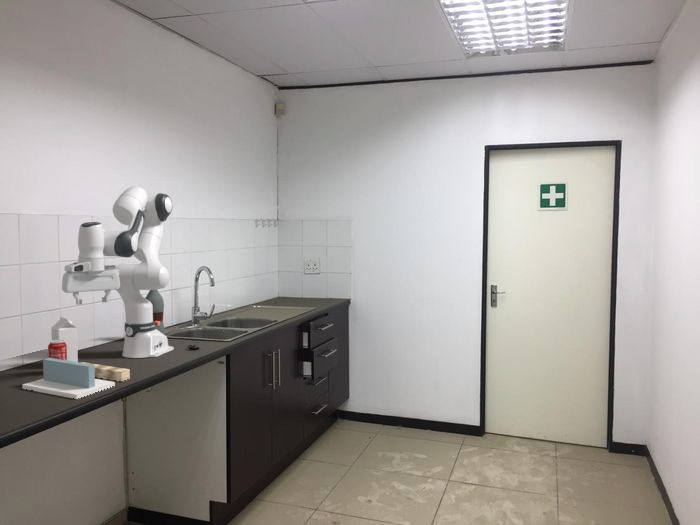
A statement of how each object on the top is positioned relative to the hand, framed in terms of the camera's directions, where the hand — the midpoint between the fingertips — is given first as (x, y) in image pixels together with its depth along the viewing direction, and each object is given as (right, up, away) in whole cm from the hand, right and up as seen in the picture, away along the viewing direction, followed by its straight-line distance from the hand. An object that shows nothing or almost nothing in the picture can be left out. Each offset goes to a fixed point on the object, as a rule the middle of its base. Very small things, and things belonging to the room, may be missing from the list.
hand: (92, 303), depth 216 cm
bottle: (+2, -22, +64) cm, 67 cm away
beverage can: (-15, -27, +6) cm, 32 cm away
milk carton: (-18, -26, +17) cm, 36 cm away
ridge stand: (-2, -28, -13) cm, 31 cm away
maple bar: (+3, -28, +1) cm, 28 cm away
